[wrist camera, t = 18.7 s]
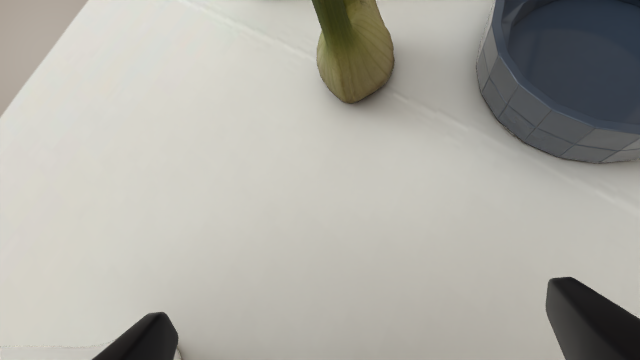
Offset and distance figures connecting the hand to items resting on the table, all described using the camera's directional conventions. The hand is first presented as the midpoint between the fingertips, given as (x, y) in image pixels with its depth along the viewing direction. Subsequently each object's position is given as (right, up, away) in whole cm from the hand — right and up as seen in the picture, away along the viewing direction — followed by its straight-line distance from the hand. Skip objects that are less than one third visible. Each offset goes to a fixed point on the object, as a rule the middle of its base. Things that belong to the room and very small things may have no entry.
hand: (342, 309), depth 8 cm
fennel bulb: (+2, +10, +17) cm, 20 cm away
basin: (+16, +10, +14) cm, 23 cm away
